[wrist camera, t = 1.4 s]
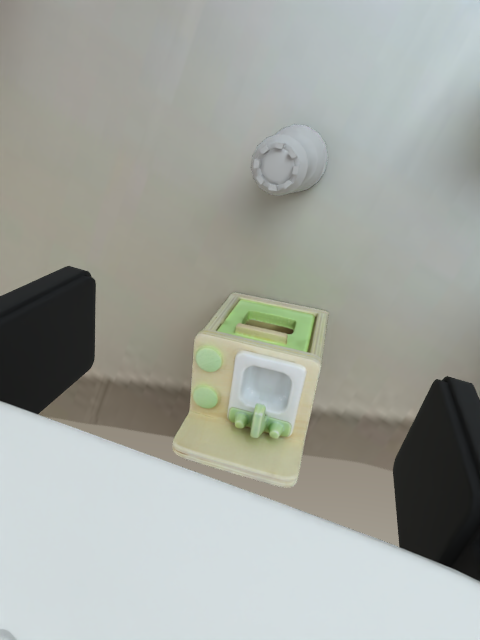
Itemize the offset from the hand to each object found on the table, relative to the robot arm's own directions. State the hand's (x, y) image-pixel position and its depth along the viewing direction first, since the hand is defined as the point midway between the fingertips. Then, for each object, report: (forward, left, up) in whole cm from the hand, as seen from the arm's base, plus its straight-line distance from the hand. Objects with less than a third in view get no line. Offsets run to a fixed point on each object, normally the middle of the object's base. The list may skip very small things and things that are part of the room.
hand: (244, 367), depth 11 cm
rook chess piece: (-3, -3, -22) cm, 23 cm away
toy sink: (+11, 0, -22) cm, 25 cm away
